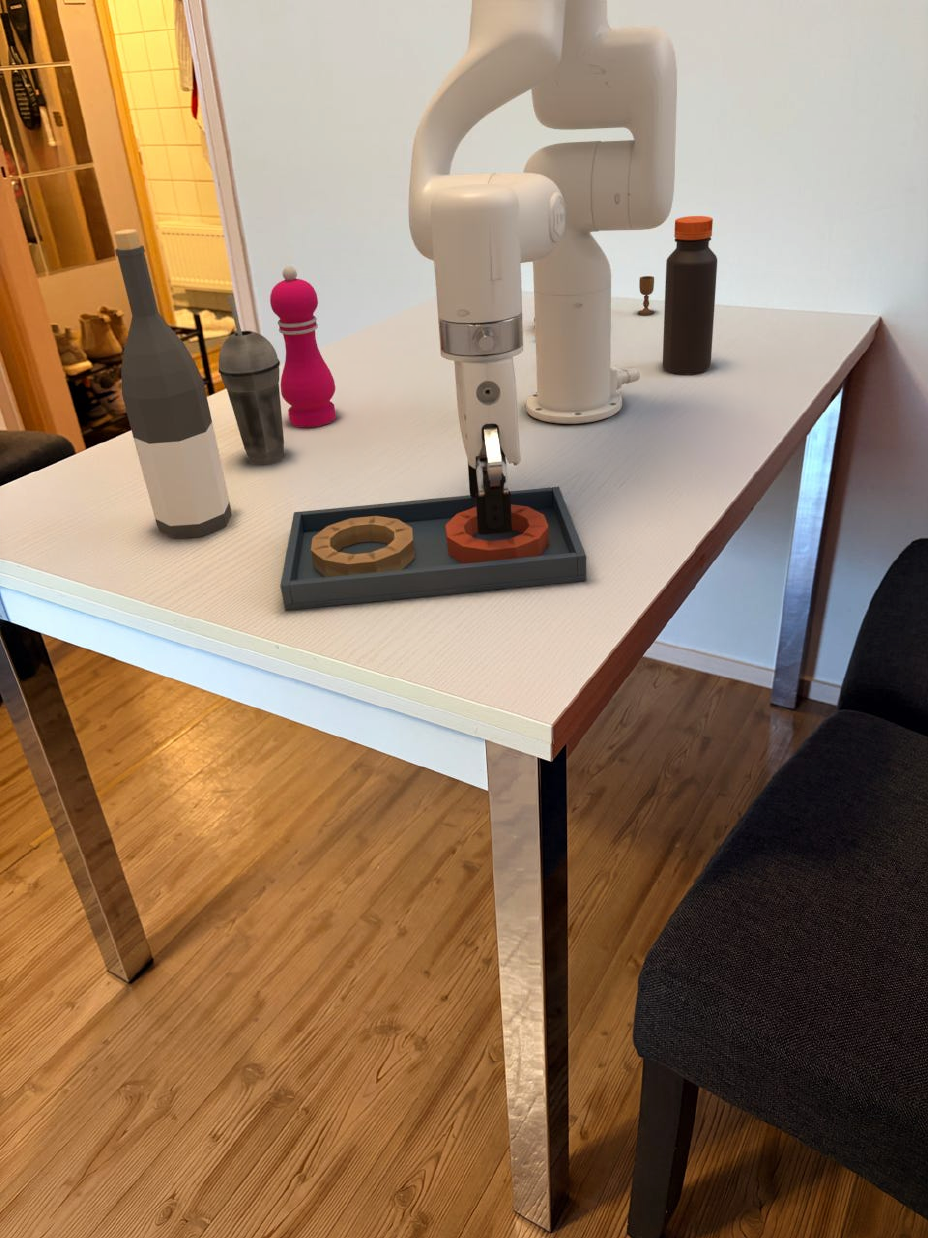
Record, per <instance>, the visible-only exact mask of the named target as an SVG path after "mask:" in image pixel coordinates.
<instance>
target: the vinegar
mask: <svg viewBox="0 0 928 1238" xmlns="http://www.w3.org/2000/svg"><path fill="white" fill-rule="evenodd" d="M713 221H714V219H713V217H711V216H706V215H704V216H703V215H690V216H683V217H679V218H675V220H674V242H676V247H675V249H674V250H673V251H672V252H671V253H670V254H669V256H668V257H667V258H666V263H665V290H664V294H665V295H664V316H663V319H664V320H663V339H662V340H663V342H662V368H663V369H664V371H666V372H668V373H671V374H677V375H693V374H694V375H695V374H700V373H703V372H706V371H707V370H709V369H710V367H712V366H711V365H712V353H713V352H712V351H713V339H714V338H713V337H714V336H713V335H714V323H715V322H714V321H715V304H716V290H717V275H718V274H717V272H718V257H717V255H716V253H714V251H713V250H712V249H711V248H710V241H711V240H712V237H713V223H714V222H713Z"/></svg>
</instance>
